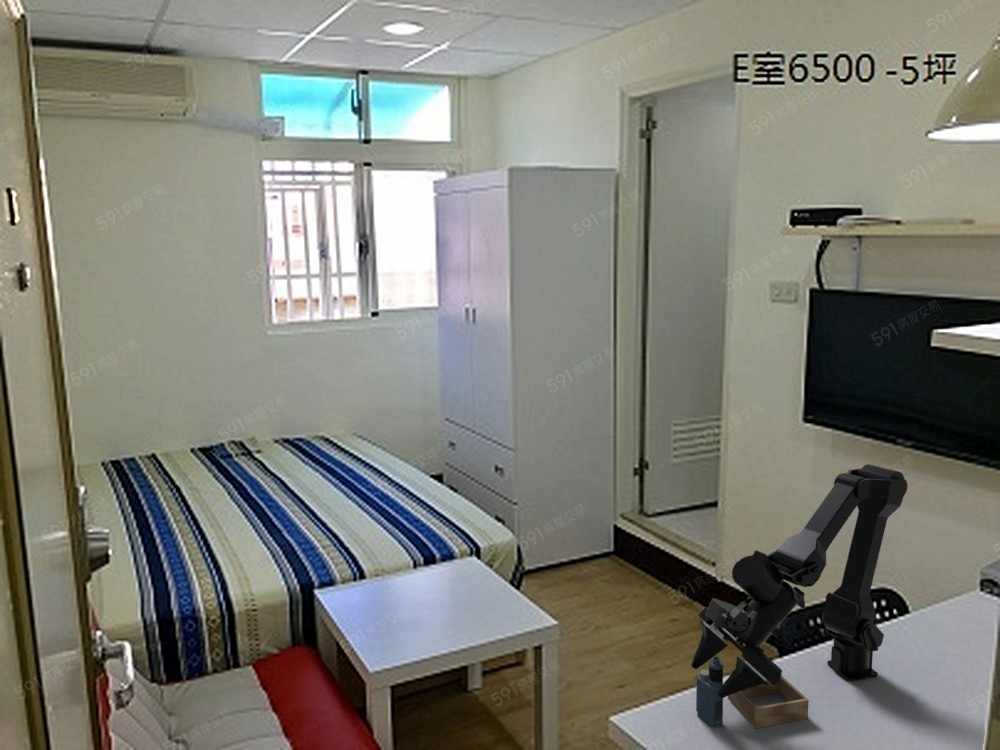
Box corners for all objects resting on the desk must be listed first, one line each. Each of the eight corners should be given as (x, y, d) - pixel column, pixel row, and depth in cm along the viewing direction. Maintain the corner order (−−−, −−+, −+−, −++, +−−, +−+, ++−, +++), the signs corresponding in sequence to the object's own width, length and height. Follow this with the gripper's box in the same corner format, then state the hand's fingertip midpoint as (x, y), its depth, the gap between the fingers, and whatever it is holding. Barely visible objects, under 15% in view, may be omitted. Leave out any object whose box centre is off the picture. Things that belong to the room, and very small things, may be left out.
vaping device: (714, 729, 132) (715, 663, 130) (693, 713, 136) (694, 649, 134) (726, 724, 133) (727, 659, 131) (704, 709, 138) (705, 645, 136)
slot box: (777, 690, 143) (778, 672, 142) (807, 718, 134) (808, 699, 133) (727, 699, 140) (728, 681, 140) (755, 728, 132) (755, 709, 131)
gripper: (709, 563, 141) (651, 629, 140) (767, 609, 123) (701, 684, 122) (747, 599, 144) (691, 663, 143) (810, 648, 126) (746, 722, 125)
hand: (705, 681), depth 133 cm, fingers open, 9 cm apart
